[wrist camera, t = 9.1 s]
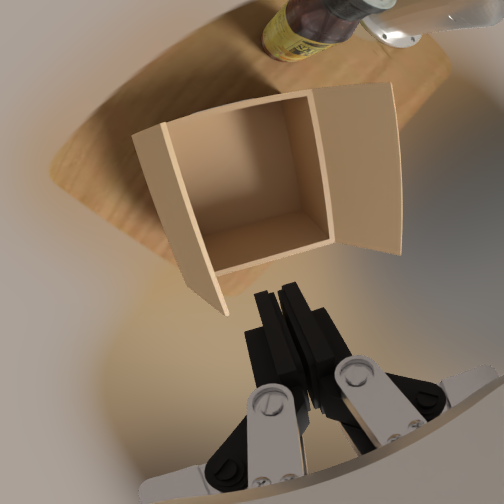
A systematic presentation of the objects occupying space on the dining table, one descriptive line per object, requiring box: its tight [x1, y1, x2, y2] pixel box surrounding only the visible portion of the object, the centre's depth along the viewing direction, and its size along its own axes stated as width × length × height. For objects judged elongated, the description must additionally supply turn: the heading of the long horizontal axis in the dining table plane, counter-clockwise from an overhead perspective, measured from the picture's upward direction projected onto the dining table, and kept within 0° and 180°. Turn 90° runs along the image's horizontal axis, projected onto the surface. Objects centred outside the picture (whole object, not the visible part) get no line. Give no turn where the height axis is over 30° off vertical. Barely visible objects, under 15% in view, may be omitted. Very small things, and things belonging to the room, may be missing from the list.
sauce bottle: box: [261, 0, 397, 62], centre depth 19 cm, size 6×6×20 cm
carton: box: [166, 89, 335, 277], centre depth 30 cm, size 16×16×10 cm
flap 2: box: [312, 82, 402, 255], centre depth 24 cm, size 7×16×1 cm
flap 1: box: [131, 122, 229, 316], centre depth 23 cm, size 7×16×1 cm
